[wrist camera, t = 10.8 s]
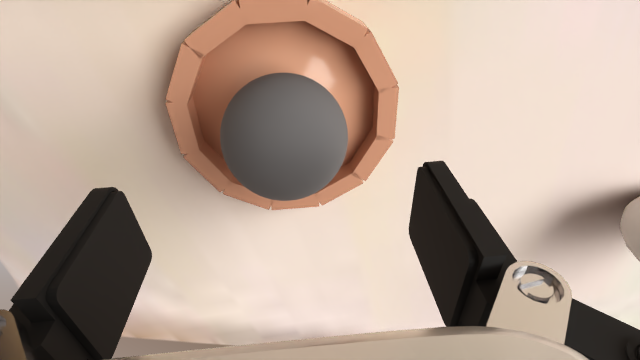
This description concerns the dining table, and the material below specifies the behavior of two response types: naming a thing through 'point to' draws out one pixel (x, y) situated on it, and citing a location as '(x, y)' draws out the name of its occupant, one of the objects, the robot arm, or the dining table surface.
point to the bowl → (282, 57)
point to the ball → (284, 136)
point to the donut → (632, 226)
